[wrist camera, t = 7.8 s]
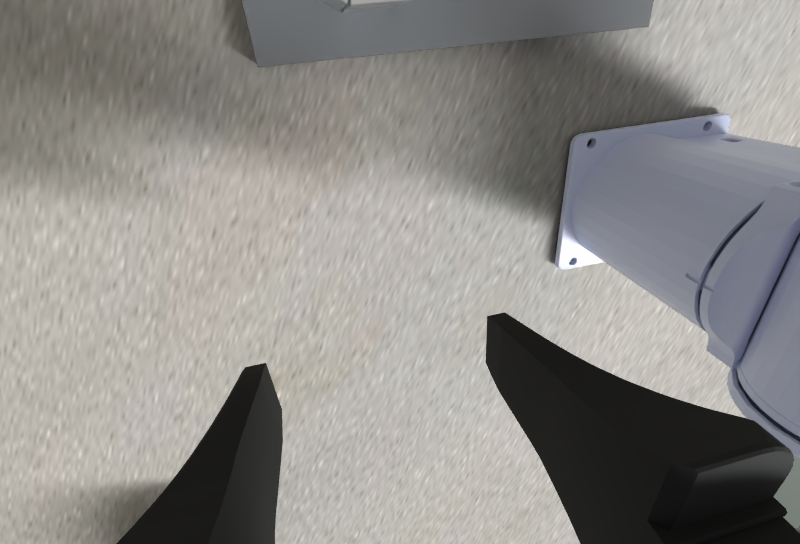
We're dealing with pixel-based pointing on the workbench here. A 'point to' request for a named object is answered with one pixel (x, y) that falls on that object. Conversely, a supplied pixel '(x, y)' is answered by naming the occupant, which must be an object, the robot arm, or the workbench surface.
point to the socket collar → (362, 4)
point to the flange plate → (423, 25)
